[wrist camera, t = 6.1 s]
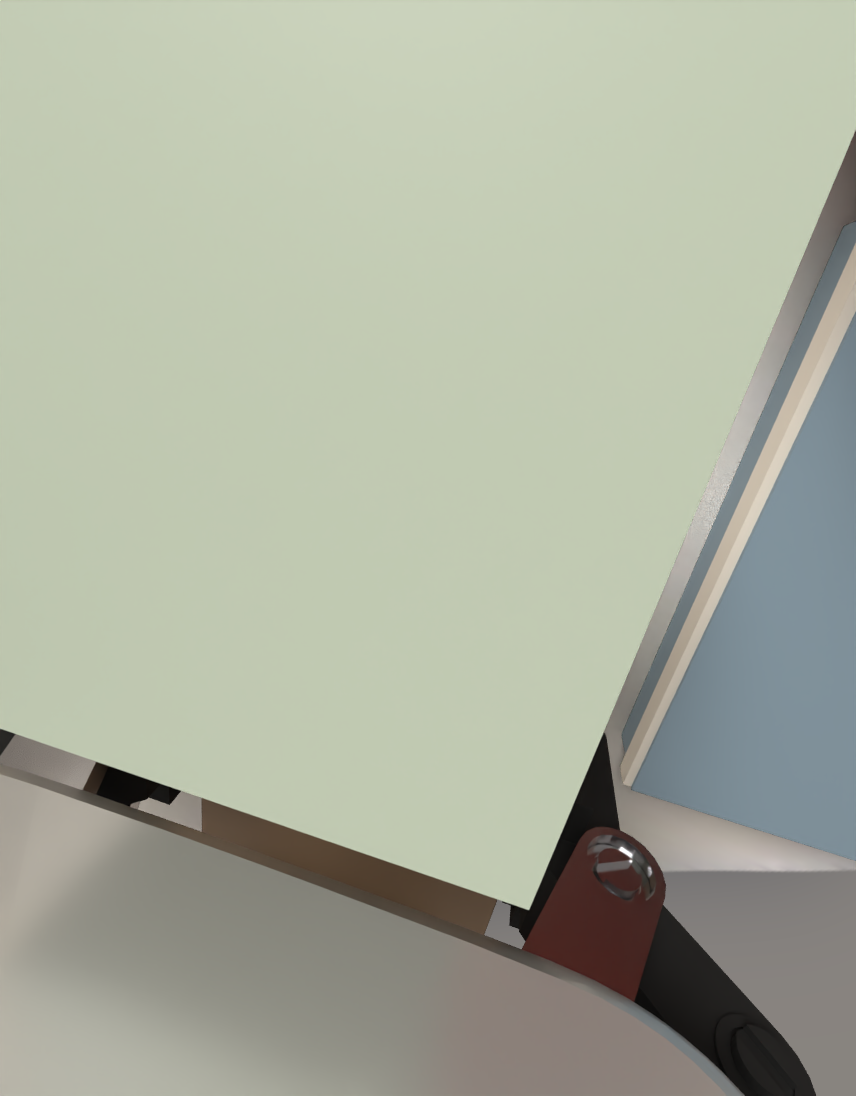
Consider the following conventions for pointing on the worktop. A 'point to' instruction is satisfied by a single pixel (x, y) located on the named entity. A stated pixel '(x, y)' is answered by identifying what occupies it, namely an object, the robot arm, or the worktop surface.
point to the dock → (772, 612)
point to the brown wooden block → (350, 867)
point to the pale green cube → (380, 382)
